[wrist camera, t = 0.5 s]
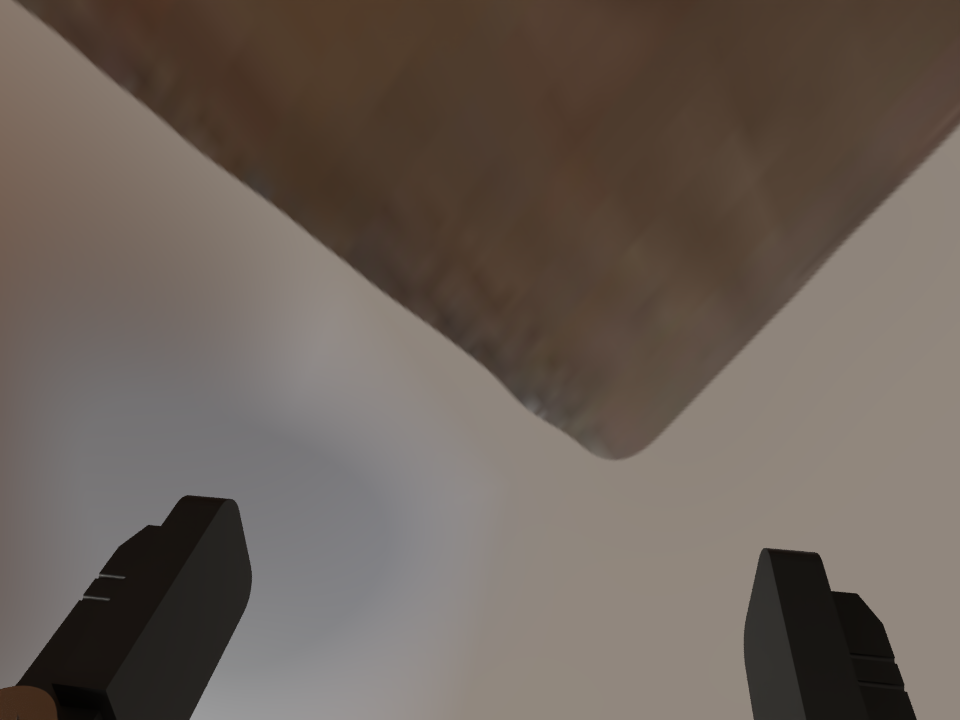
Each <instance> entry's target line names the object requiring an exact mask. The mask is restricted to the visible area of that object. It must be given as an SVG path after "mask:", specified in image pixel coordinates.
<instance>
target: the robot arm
mask: <svg viewBox="0 0 960 720" xmlns="http://www.w3.org/2000/svg"><path fill="white" fill-rule="evenodd" d="M251 583H252V571H251V565H250V560H249V555H248V551H247V546H246V541H245V536H244V531H243V527H242V522H241V518H240V513H239V508H238V505H237V503H236V502H235V501H234V500H233V499H224V498H214V497H201V496H191V495H187V496H184V497H182V498H181V499H180V500H179V501H178V503H177V504H176V505H175V507H174V508H173V510H172V511H171V513H170V514H169V516H168V517H167V518H166V520H165V521H164V523H163V524H162V525H161V526H153V525H148V526H146V527H145V528H144V529H142V530H141V531H139V532H138V533H137V534H135V535H134V536H133V537H132V538H130V539H129V540H127V541H126V542H125V543H123V544H122V545H121V546H119V547H118V549H117V550H116V551H115V553H114V554H113V555H112V557H111V558H110V559H109V561H108V562H107V563H106V565H105V566H104V568H103V569H102V570H101V572H100V573H99V578H98V579H95V580H94V581H93V582H92V584H91V585H90V586H89V588H88V589H87V590H86V592H85V593H84V596H83V600H82V601H81V600H79V601H78V603H77V604H76V605H75V607H74V608H73V609H72V611H71V612H70V614H69V615H68V616H67V618H66V619H65V620H64V622H63V623H62V624H61V626H60V627H59V628H58V630H57V631H56V632H55V634H54V635H53V636H52V638H51V639H50V640H49V642H48V643H47V644H46V646H45V647H44V648H43V650H42V651H41V653H40V654H39V655H38V657H37V658H36V659H35V661H34V662H33V663H32V665H31V666H30V667H29V669H28V670H27V671H26V673H25V674H24V676H23V677H22V678H21V680H20V681H19V682H18V683H17V684H16V686H12V687H8V688H3V689H0V720H189V719H190V717H191V715H192V713H193V711H194V709H195V708H196V706H197V704H198V702H199V700H200V698H201V696H202V694H203V692H204V689H205V688H206V686H207V684H208V682H209V680H210V678H211V676H212V674H213V672H214V670H215V668H216V666H217V664H218V662H219V660H220V658H221V656H222V654H223V652H224V650H225V648H226V646H227V644H228V642H229V640H230V638H231V636H232V635H233V632H234V631H235V629H236V626H237V624H238V623H239V621H240V619H241V617H242V615H243V613H244V611H245V608H246V606H247V603H248V600H249V596H250V591H251ZM744 658H745V667H746V673H747V680H748V686H749V692H750V699H751V704H752V711H753V717H754V720H917V719H916V716H915V713H914V711H913V708H912V705H911V702H910V699H909V696H908V694H907V692H905V691H904V682H903V679H902V677H901V674H900V671H899V668H898V665H897V664H895V662H894V658H895V657H894V654H893V651H892V648H891V646H890V643H889V640H888V637H887V634H886V631H885V629H884V626H883V624H882V622H881V621H880V620H879V619H878V618H877V617H876V615H875V614H874V613H873V612H872V611H871V609H870V608H869V607H868V606H867V605H866V604H865V602H864V601H863V600H862V599H861V598H860V597H859V595H858V594H856V593H846V592H835V591H831V589H830V586H829V583H828V579H827V576H826V572H825V569H824V566H823V562H822V560H821V557H820V555H819V554H818V553H815V552H804V551H793V550H781V549H770V548H764V549H763V550H762V551H761V554H760V557H759V562H758V566H757V570H756V575H755V580H754V584H753V589H752V594H751V599H750V603H749V607H748V612H747V616H746V622H745V630H744Z"/></svg>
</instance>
